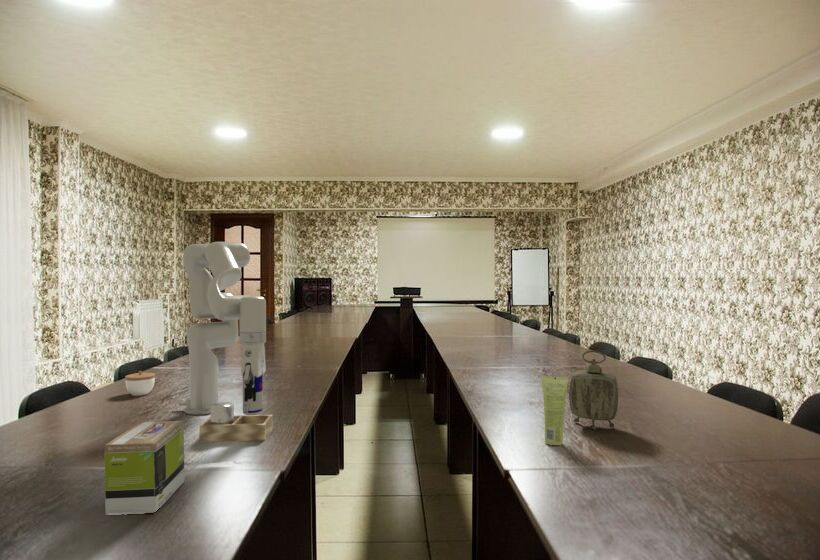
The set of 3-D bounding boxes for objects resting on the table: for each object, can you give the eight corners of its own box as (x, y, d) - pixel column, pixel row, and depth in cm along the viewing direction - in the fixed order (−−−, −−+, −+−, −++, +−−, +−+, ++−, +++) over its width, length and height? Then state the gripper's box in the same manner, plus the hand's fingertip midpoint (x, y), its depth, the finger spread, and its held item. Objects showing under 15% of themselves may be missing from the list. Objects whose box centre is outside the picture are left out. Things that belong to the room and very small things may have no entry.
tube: (555, 439, 137) (555, 373, 137) (568, 444, 133) (568, 377, 133) (540, 442, 135) (541, 375, 135) (553, 447, 130) (553, 379, 130)
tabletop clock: (618, 427, 149) (618, 350, 149) (617, 435, 141) (618, 354, 141) (571, 421, 155) (571, 347, 155) (568, 429, 147) (568, 350, 147)
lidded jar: (147, 389, 197) (147, 367, 197) (159, 393, 191) (160, 370, 191) (120, 394, 188) (120, 371, 188) (132, 398, 182) (132, 374, 182)
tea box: (140, 483, 106) (141, 420, 106) (185, 482, 107) (186, 419, 107) (103, 517, 91) (103, 443, 91) (155, 515, 92) (155, 441, 92)
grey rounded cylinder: (207, 439, 133) (207, 408, 133) (214, 432, 139) (215, 402, 139) (229, 438, 134) (229, 407, 134) (236, 431, 140) (236, 402, 140)
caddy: (199, 444, 131) (199, 425, 131) (211, 433, 141) (211, 415, 141) (264, 443, 133) (265, 424, 133) (272, 432, 142) (272, 414, 142)
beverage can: (256, 416, 133) (256, 364, 133) (238, 415, 134) (238, 364, 134) (266, 411, 139) (266, 361, 139) (249, 410, 140) (249, 361, 140)
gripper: (258, 341, 129) (258, 406, 129) (272, 334, 146) (272, 391, 146) (231, 341, 128) (230, 406, 128) (248, 334, 145) (247, 392, 145)
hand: (252, 398), depth 137 cm, fingers closed on beverage can, 4 cm apart
